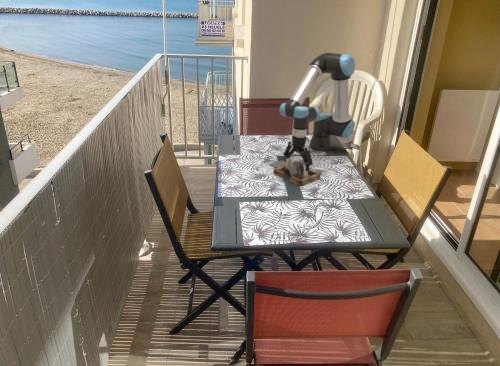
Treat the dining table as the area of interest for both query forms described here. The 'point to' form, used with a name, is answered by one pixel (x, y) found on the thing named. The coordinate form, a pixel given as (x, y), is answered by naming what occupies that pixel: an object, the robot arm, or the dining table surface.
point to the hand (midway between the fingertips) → (296, 172)
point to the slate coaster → (278, 164)
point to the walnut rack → (312, 178)
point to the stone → (296, 170)
